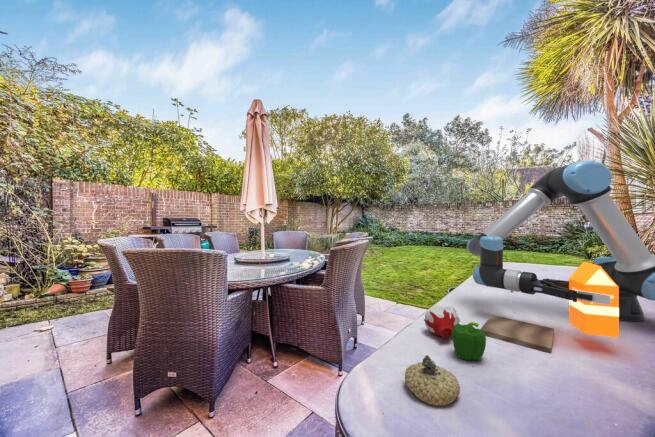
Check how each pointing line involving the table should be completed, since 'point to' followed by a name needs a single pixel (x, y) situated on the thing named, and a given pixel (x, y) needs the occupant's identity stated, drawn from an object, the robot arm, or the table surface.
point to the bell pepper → (469, 341)
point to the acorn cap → (432, 383)
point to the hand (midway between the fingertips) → (612, 296)
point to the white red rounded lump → (441, 320)
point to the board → (519, 333)
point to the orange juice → (592, 314)
